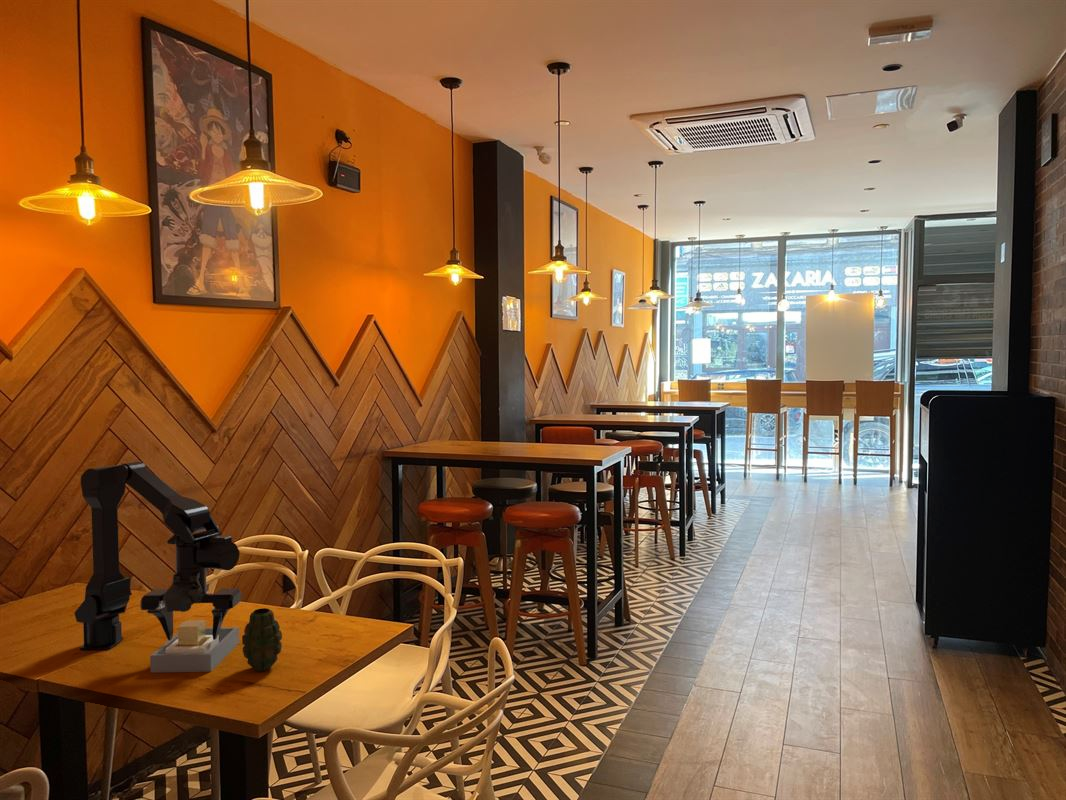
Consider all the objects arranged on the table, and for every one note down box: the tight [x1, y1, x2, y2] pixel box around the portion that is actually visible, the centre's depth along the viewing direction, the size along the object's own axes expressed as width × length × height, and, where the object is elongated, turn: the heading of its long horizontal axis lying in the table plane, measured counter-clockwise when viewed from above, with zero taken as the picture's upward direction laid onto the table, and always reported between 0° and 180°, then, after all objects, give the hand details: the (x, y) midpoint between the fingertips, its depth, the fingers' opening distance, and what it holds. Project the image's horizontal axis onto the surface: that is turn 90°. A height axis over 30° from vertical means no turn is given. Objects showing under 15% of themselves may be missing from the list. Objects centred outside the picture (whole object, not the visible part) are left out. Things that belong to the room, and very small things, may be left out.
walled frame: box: [149, 626, 240, 674], centre depth 159 cm, size 12×16×4 cm
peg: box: [177, 619, 207, 647], centre depth 157 cm, size 4×4×8 cm
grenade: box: [241, 607, 283, 672], centre depth 153 cm, size 8×8×12 cm
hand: (192, 639), depth 157 cm, fingers open, 9 cm apart
